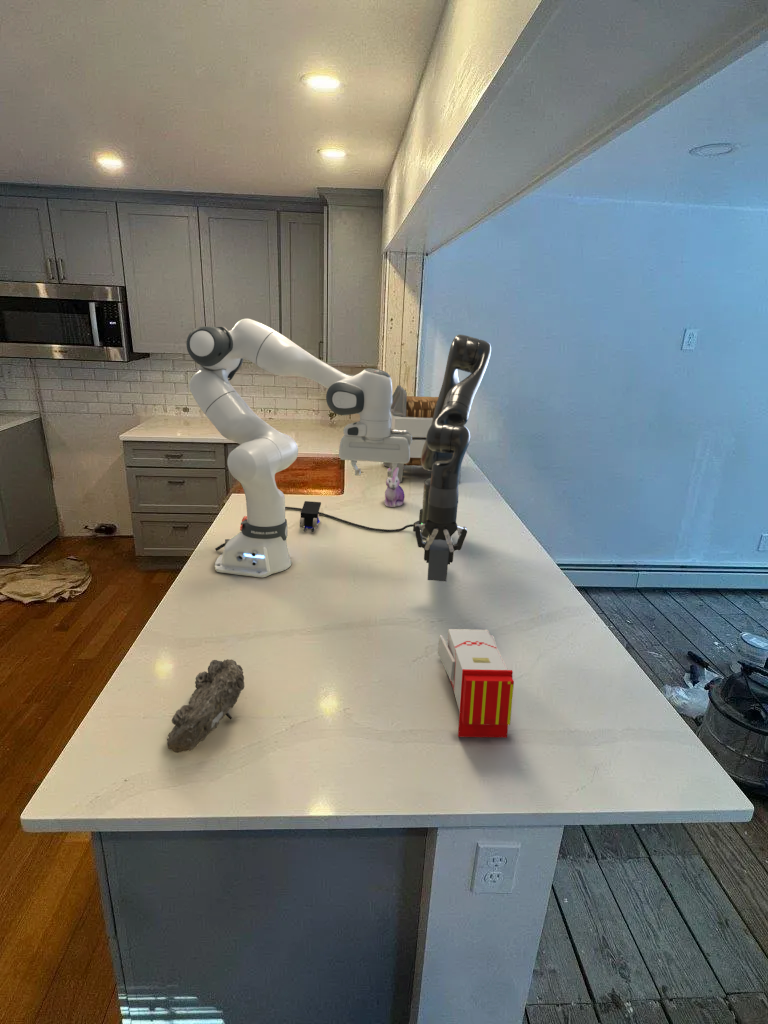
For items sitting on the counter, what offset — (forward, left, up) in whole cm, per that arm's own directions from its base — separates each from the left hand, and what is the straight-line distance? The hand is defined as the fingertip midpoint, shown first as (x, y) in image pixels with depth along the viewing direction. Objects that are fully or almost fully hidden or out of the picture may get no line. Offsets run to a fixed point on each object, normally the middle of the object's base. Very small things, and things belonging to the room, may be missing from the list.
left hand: (373, 476), depth 163 cm
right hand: (+18, -20, -17) cm, 32 cm away
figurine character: (-22, +32, -29) cm, 48 cm away
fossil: (-29, -68, -29) cm, 80 cm away
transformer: (+22, +108, -29) cm, 114 cm away
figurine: (+9, +60, -29) cm, 67 cm away
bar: (+19, -10, -21) cm, 30 cm away
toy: (+21, -58, -29) cm, 69 cm away
